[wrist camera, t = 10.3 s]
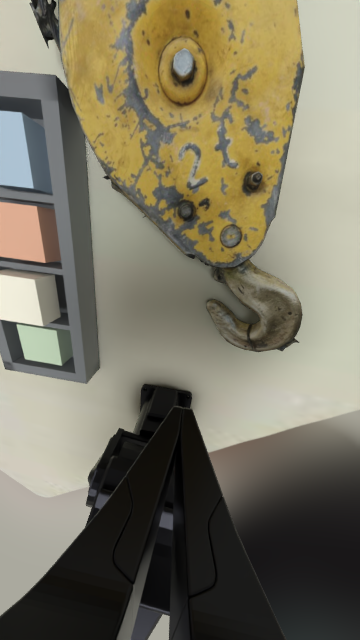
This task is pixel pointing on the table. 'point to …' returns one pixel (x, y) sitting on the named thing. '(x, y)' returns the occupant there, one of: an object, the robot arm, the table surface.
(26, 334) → the key sage
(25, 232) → the key terracotta
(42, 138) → the key blue
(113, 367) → the table surface
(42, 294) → the key cream
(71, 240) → the gray cubby shelf
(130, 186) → the pulley block
